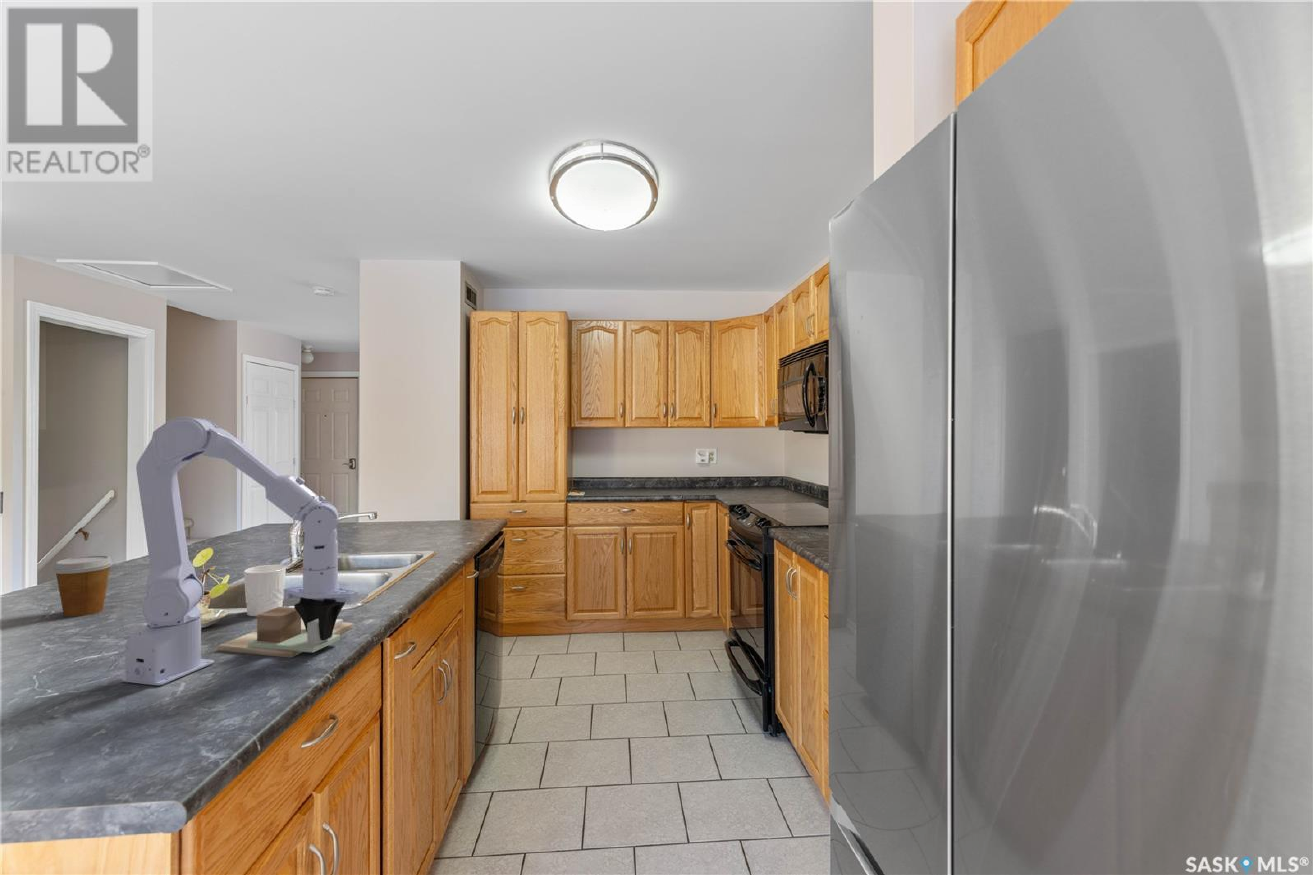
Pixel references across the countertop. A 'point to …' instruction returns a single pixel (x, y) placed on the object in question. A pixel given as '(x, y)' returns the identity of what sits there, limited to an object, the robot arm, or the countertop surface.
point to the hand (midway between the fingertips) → (320, 638)
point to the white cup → (264, 588)
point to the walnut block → (278, 625)
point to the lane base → (242, 647)
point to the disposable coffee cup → (82, 584)
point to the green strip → (300, 640)
